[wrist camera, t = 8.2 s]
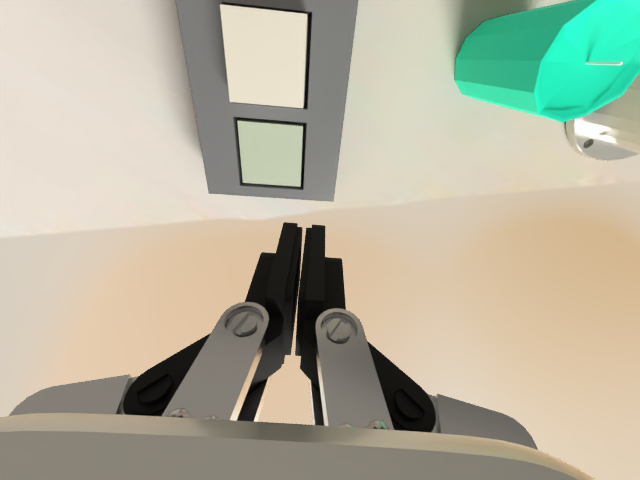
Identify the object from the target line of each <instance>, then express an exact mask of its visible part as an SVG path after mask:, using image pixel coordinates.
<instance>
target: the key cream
mask: <svg viewBox="0 0 640 480" xmlns="http://www.w3.org/2000/svg"><path fill="white" fill-rule="evenodd" d="M220 11H221V21H222V31H223V41H224V50H225V60H226V70H227V80H228V90H229V100H230V102H236V103H248V104H259V105H271V106H282V107H293V108H303V107H304V102H305V79H306V56H307V33H308V16H307V14H303V13H294V12H285V11H276V10H267V9H258V8H249V7H240V6H231V5H222V4H220Z"/></svg>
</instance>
